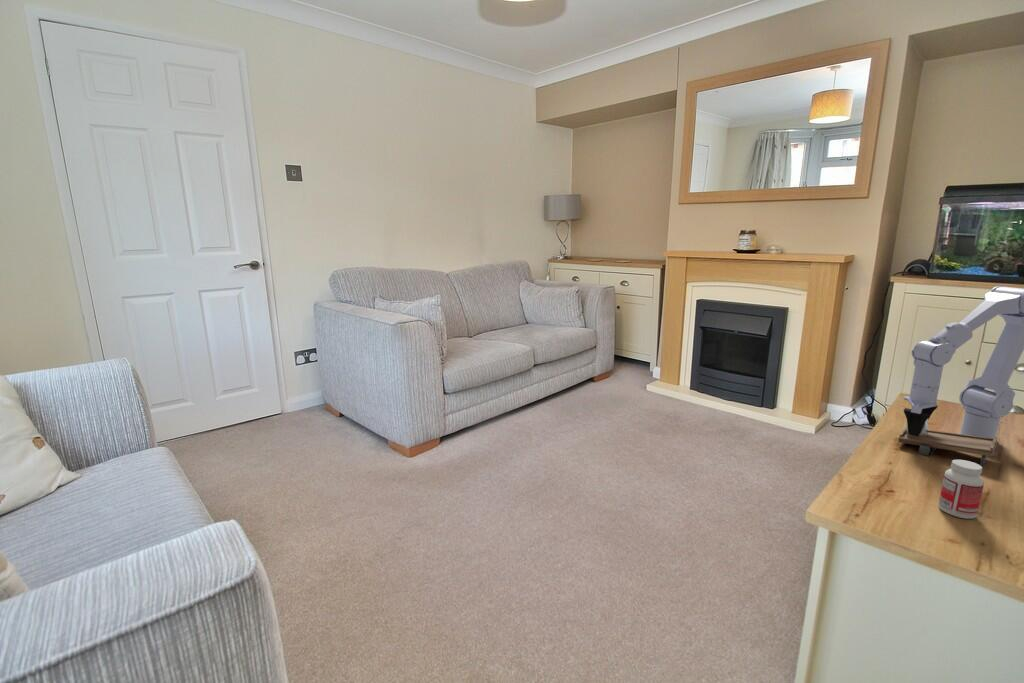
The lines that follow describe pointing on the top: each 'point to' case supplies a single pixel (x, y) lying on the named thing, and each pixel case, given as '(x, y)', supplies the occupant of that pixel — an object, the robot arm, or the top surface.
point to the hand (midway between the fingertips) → (916, 431)
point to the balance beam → (953, 442)
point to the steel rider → (923, 432)
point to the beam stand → (930, 450)
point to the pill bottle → (962, 489)
